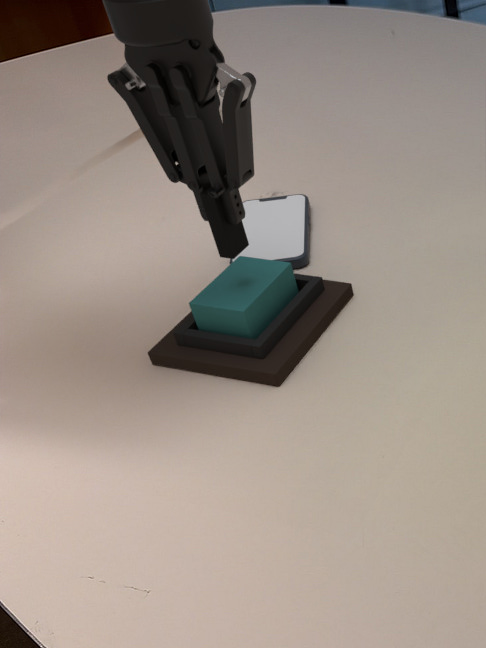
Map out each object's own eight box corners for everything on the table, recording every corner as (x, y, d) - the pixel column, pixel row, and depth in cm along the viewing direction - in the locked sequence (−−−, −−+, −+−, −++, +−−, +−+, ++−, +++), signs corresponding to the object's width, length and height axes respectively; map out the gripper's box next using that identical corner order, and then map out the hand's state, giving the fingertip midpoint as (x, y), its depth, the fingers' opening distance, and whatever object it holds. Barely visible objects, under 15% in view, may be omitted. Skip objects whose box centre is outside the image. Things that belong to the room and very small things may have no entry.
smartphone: (310, 269, 92) (311, 203, 104) (307, 257, 91) (308, 191, 103) (231, 280, 91) (240, 211, 103) (227, 267, 90) (237, 200, 102)
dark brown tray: (152, 364, 79) (141, 339, 77) (240, 278, 91) (233, 255, 89) (279, 386, 76) (271, 361, 74) (354, 294, 87) (349, 270, 85)
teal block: (200, 337, 80) (188, 303, 77) (249, 288, 86) (239, 255, 84) (254, 345, 78) (243, 311, 76) (299, 295, 85) (291, 262, 82)
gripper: (45, -10, 61) (152, 263, 76) (194, -3, 58) (275, 279, 73) (111, -34, 66) (198, 225, 82) (250, -29, 63) (314, 239, 79)
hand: (234, 250), depth 77 cm, fingers closed
